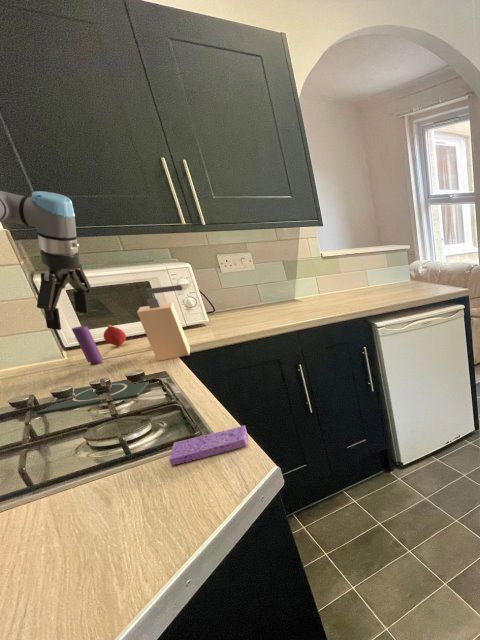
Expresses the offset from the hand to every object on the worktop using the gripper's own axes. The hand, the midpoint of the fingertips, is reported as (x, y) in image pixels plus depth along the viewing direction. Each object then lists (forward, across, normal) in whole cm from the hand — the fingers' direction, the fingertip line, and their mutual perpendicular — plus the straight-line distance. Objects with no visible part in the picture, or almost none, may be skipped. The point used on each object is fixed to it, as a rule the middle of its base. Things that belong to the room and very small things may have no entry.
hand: (68, 320), depth 127 cm
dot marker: (+14, +1, -5) cm, 15 cm away
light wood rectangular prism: (+6, +1, -28) cm, 29 cm away
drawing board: (+5, -30, -21) cm, 37 cm away
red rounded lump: (+18, +20, -3) cm, 27 cm away
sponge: (-14, -72, -57) cm, 93 cm away
